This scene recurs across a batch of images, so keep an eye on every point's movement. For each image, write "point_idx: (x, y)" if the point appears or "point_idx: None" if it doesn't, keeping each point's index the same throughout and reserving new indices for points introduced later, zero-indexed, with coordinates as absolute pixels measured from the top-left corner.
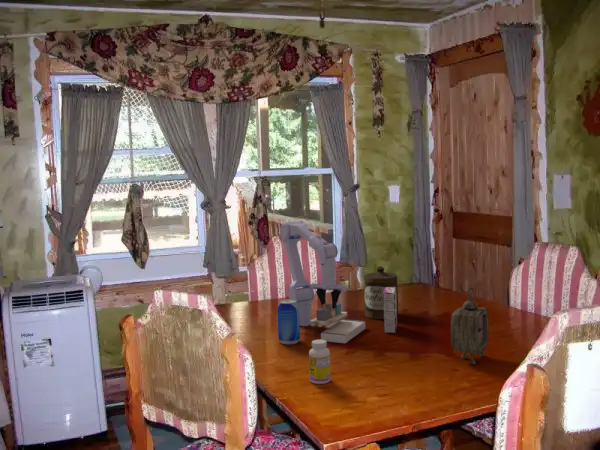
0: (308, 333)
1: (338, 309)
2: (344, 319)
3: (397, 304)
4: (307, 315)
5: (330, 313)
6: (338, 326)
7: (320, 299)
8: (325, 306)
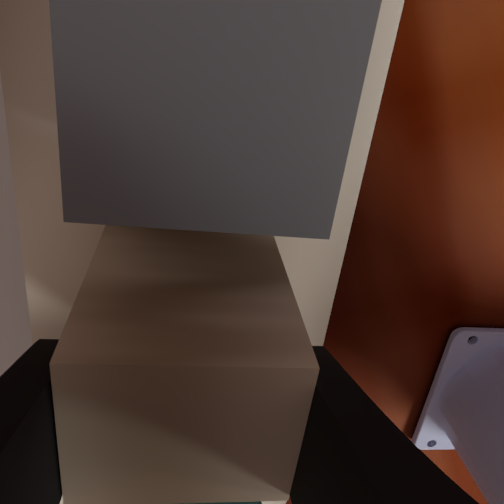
0: (399, 130)
1: None
2: None
3: None
4: (496, 428)
5: (125, 256)
6: None
7: (428, 482)
8: (236, 338)
